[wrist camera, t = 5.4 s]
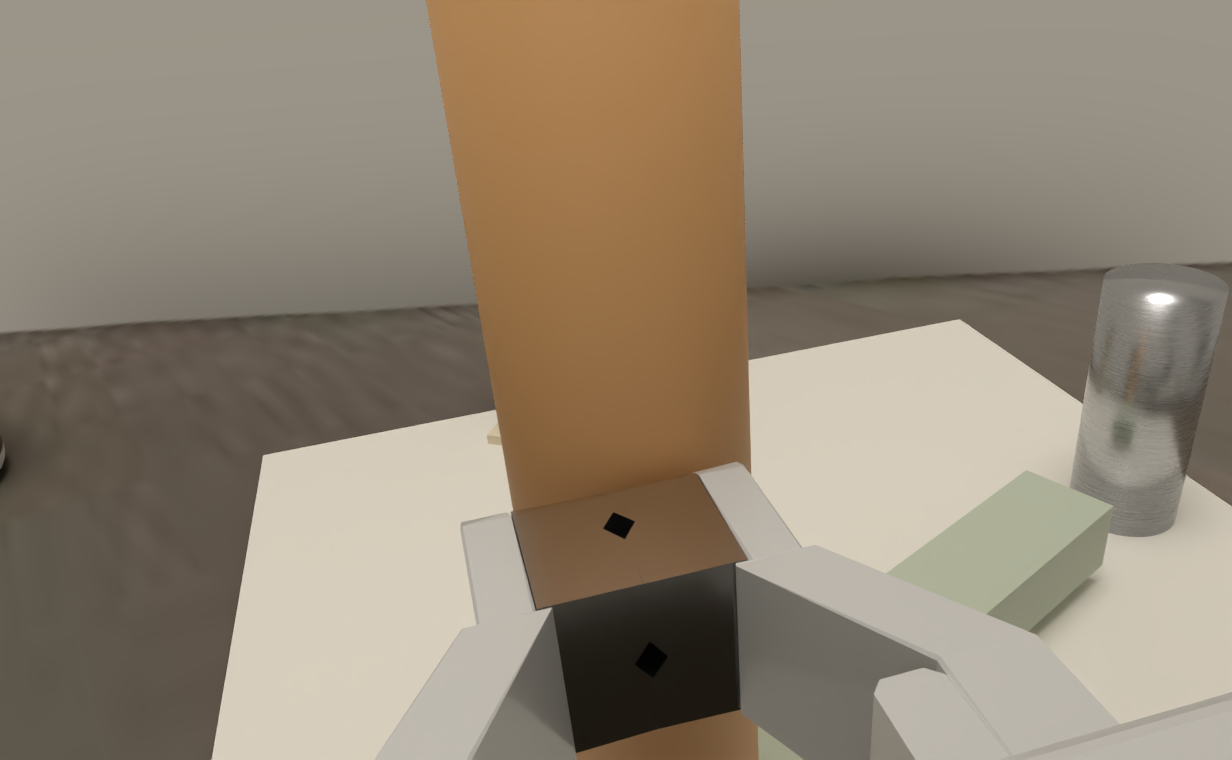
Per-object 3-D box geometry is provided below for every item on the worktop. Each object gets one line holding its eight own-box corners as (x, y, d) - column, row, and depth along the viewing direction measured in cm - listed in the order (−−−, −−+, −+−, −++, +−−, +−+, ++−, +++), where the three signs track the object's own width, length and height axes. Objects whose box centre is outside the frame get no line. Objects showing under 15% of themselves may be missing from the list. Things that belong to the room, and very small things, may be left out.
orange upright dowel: (999, 517, 23) (1132, -551, 14) (1124, 575, 21) (1380, -645, 12) (541, 867, 16) (205, -852, 7) (660, 1009, 14) (397, -1233, 5)
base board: (958, 327, 34) (959, 319, 34) (1787, 907, 14) (1797, 895, 14) (266, 463, 30) (263, 455, 29) (89, 1547, 10) (79, 1537, 10)
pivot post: (1128, 472, 25) (1171, 256, 22) (1199, 524, 23) (1256, 293, 20) (1047, 491, 24) (1079, 274, 22) (1111, 546, 22) (1157, 313, 19)
